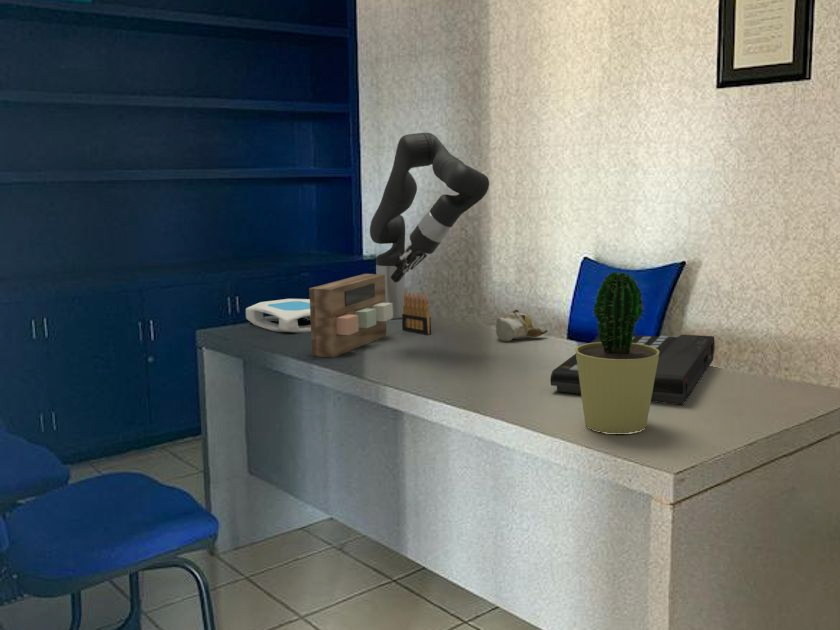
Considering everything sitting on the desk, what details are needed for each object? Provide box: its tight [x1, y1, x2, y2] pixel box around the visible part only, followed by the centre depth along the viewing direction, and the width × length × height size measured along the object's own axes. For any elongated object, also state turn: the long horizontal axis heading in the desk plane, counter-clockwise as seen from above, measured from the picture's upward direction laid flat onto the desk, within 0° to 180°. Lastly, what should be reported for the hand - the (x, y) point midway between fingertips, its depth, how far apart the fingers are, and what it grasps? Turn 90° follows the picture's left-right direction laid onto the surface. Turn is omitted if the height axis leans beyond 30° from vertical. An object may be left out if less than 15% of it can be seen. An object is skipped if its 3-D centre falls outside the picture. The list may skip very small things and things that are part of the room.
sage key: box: [355, 308, 376, 328], centre depth 236 cm, size 6×5×4 cm
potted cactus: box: [574, 271, 659, 433], centre depth 161 cm, size 15×15×30 cm
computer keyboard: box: [549, 334, 716, 405], centre depth 200 cm, size 45×28×7 cm, turn 154°
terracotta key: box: [336, 314, 359, 335], centre depth 228 cm, size 6×5×4 cm
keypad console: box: [308, 273, 387, 358], centre depth 238 cm, size 7×30×18 cm, turn 155°
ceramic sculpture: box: [495, 309, 549, 342], centre depth 243 cm, size 11×9×15 cm
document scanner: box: [245, 298, 311, 334], centre depth 272 cm, size 21×28×6 cm
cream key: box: [372, 302, 393, 322], centre depth 245 cm, size 6×5×4 cm
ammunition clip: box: [401, 291, 432, 336], centre depth 255 cm, size 11×2×12 cm, turn 45°
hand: (394, 280), depth 229 cm, fingers closed
